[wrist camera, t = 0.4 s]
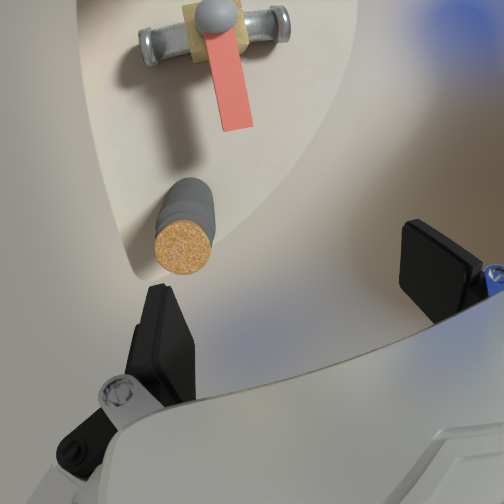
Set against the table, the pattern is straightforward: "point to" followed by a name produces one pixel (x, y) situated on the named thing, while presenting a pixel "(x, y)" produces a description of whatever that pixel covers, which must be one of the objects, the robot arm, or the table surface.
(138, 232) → the table surface
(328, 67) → the table surface
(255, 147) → the table surface
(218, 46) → the lever
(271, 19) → the valve body
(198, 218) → the bottle
